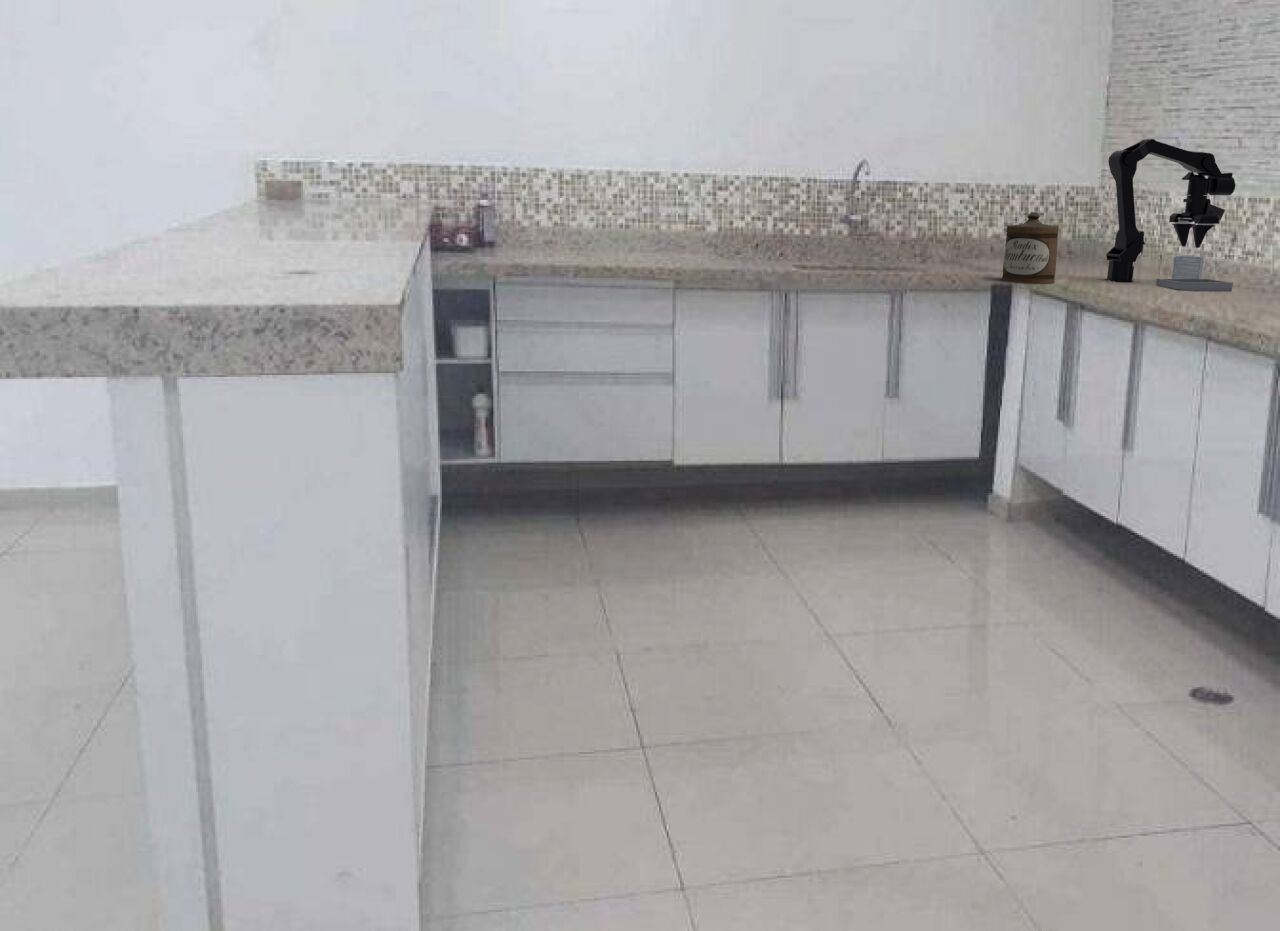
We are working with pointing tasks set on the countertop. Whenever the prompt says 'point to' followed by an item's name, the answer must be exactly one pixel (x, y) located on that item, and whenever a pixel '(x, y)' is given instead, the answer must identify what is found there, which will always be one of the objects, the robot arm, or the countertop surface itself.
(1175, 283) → the tray
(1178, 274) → the medicine box
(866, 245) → the countertop surface
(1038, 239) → the wooden container
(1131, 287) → the countertop surface
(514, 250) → the countertop surface
